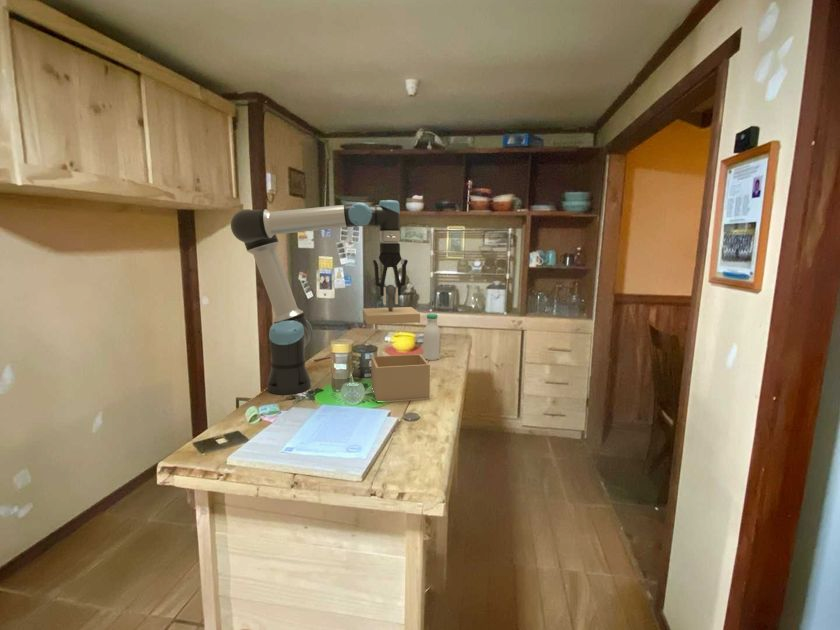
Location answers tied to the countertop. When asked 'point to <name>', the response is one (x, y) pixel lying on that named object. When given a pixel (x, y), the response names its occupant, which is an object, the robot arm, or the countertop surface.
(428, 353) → the milk bottle
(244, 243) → the robot arm
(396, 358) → the carton
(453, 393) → the countertop surface
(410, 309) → the carton lid
